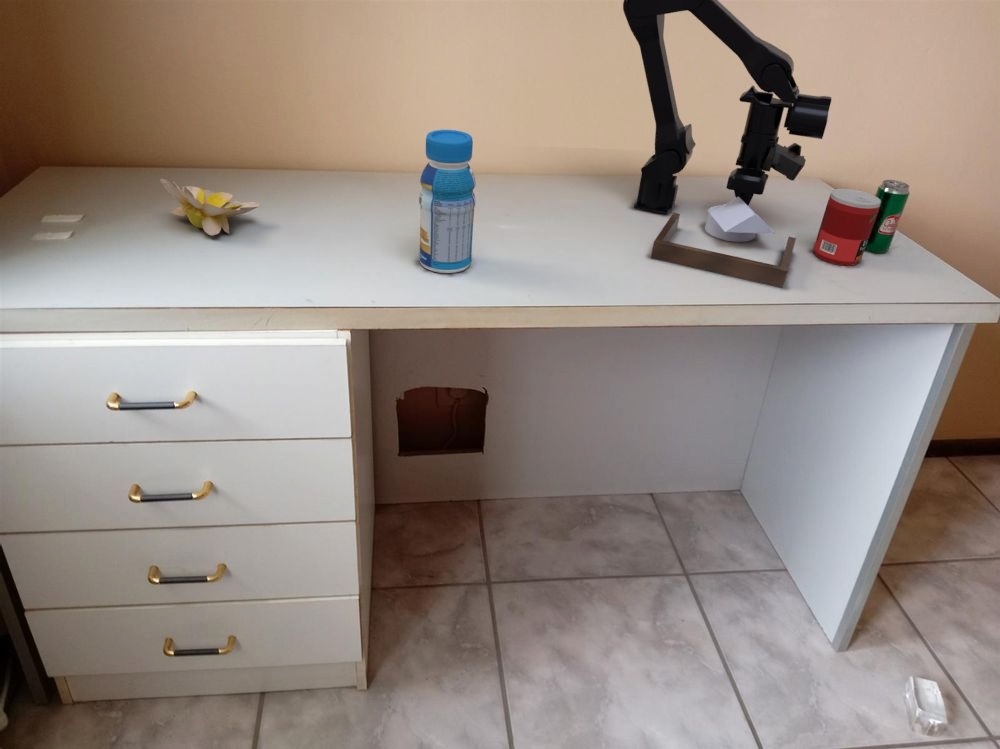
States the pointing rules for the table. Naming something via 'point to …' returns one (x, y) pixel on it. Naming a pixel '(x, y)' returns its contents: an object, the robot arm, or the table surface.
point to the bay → (719, 258)
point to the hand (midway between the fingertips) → (741, 213)
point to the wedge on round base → (735, 222)
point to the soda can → (887, 214)
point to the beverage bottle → (447, 202)
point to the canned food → (846, 226)
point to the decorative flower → (206, 207)
